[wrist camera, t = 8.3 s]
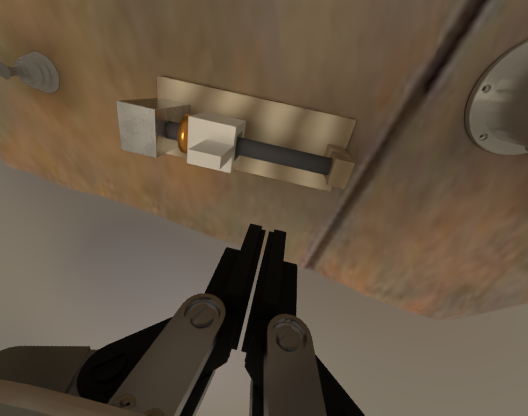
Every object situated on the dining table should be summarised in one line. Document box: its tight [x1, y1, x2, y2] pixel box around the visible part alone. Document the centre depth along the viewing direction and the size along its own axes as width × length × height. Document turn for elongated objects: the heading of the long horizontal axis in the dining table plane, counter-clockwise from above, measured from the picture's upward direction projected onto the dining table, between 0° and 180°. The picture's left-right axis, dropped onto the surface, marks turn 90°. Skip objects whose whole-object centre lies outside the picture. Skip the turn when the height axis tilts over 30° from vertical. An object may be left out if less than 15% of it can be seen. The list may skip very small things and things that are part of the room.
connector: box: [117, 98, 191, 158], centre depth 28 cm, size 7×5×8 cm
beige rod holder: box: [157, 76, 357, 192], centre depth 29 cm, size 26×10×9 cm, turn 79°
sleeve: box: [187, 112, 246, 173], centre depth 25 cm, size 5×5×10 cm
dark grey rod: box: [165, 121, 332, 175], centre depth 27 cm, size 21×2×2 cm, turn 79°
